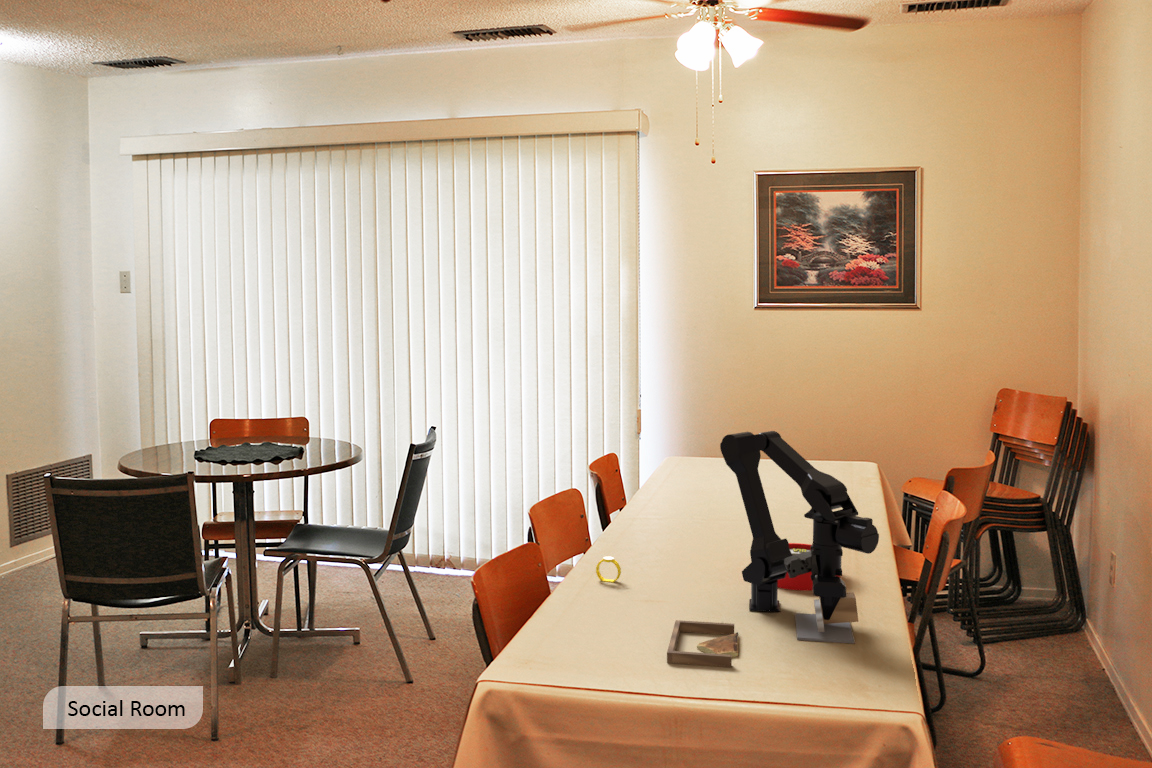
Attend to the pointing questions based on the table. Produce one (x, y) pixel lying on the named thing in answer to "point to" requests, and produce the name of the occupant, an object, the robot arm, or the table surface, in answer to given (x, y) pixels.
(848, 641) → the rubber mat
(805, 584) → the toy clock
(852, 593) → the wood and metal bracket
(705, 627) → the bar
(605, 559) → the watch
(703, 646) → the shard
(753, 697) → the table surface
